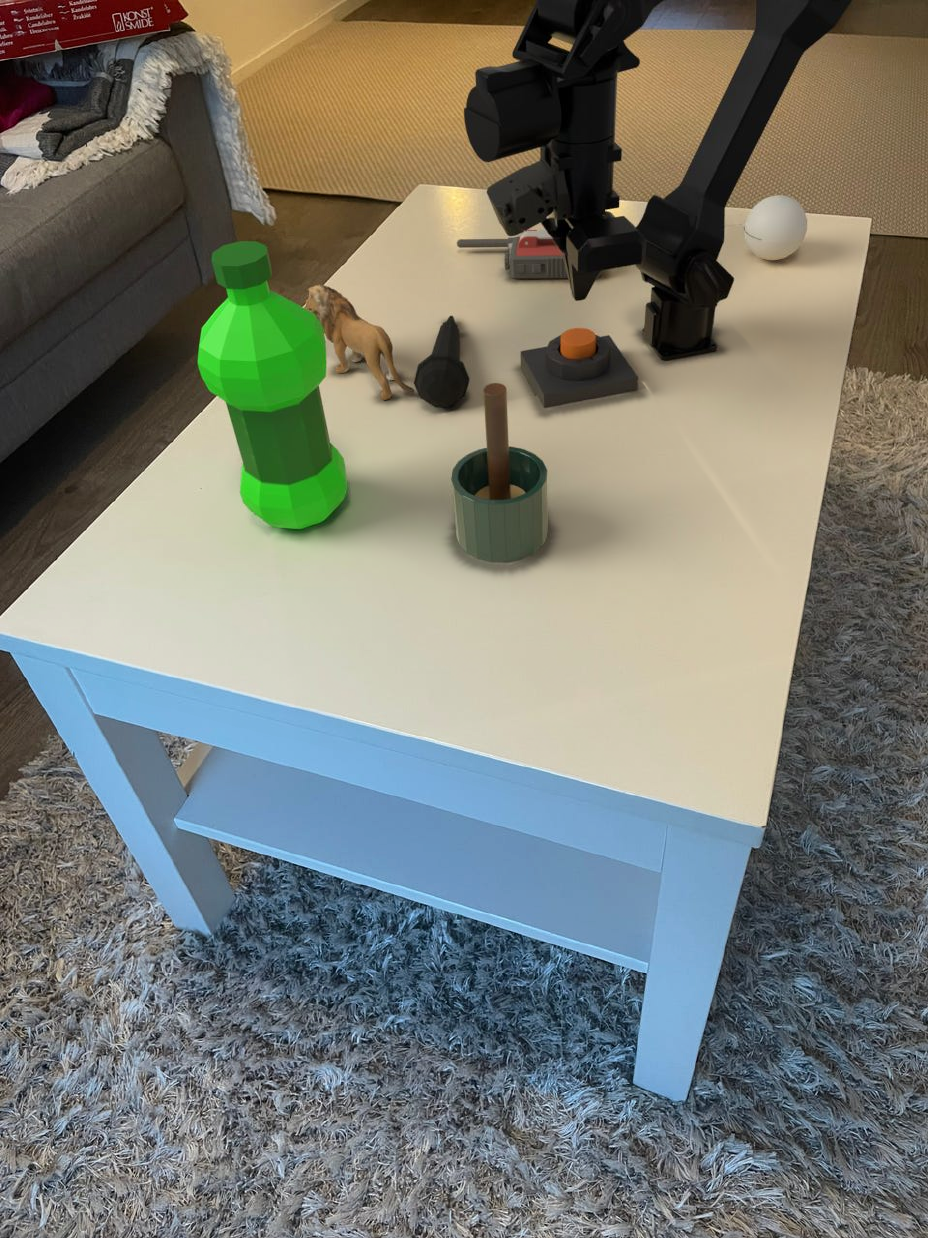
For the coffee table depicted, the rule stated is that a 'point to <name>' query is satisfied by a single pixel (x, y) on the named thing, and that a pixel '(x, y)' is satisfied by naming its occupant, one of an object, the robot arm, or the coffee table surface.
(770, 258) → the white ball
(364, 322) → the lion figurine
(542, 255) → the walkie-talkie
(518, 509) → the green pen cup
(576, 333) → the button
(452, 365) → the microphone
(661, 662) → the coffee table surface
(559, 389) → the button unit
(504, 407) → the brown wooden dowel
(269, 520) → the plastic bottle
